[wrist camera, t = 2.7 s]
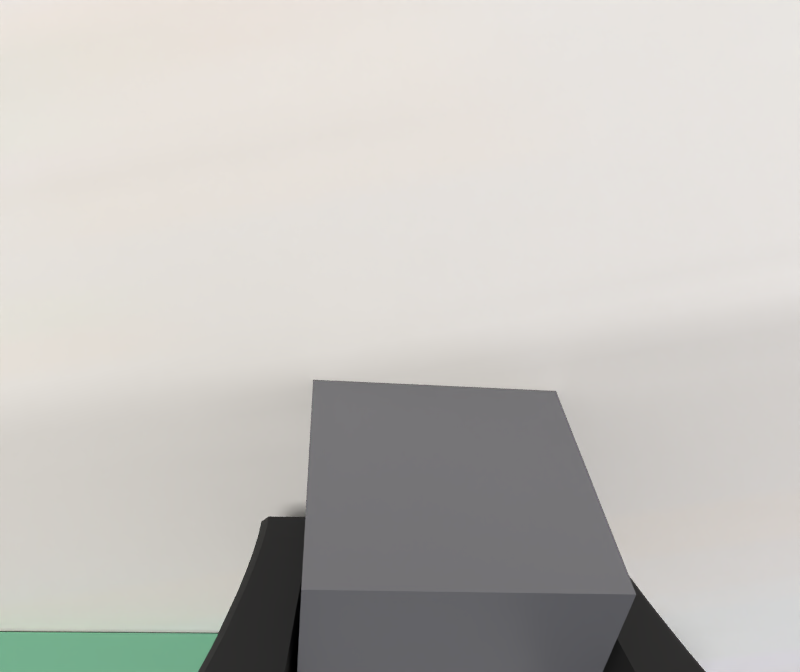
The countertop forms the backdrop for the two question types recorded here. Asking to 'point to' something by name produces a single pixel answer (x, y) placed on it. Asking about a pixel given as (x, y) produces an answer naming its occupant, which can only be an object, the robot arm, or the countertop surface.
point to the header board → (103, 651)
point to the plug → (453, 535)
